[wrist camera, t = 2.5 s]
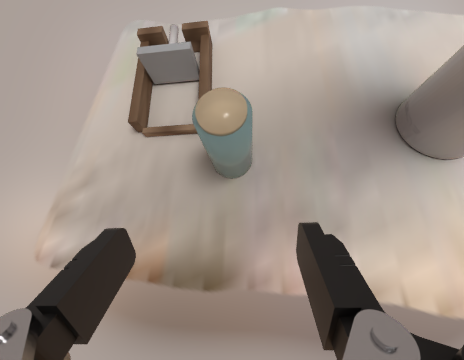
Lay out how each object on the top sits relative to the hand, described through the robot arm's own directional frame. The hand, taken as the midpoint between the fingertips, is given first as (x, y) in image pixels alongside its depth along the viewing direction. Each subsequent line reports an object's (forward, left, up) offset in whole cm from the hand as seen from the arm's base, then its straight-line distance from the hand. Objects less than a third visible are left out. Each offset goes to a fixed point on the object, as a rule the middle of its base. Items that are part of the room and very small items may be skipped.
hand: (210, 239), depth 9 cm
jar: (0, -10, -14) cm, 17 cm away
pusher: (+8, -27, -13) cm, 31 cm away
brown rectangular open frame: (+8, -22, -14) cm, 27 cm away
